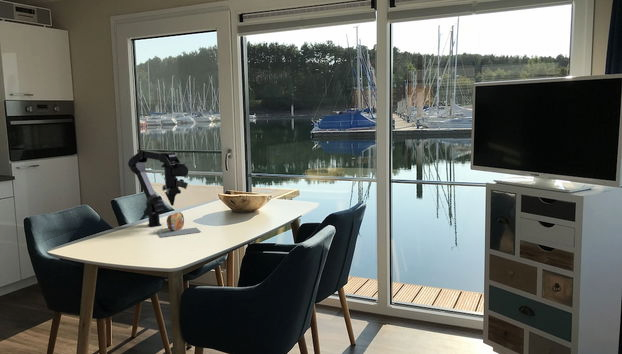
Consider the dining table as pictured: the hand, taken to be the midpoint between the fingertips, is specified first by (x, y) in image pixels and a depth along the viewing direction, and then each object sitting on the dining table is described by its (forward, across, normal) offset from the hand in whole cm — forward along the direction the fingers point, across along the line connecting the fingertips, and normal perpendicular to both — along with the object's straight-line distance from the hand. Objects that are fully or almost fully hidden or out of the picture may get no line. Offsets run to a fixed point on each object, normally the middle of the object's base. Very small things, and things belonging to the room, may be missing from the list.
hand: (172, 205), depth 282 cm
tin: (+12, -6, 0) cm, 13 cm away
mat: (+12, -14, 0) cm, 18 cm away
